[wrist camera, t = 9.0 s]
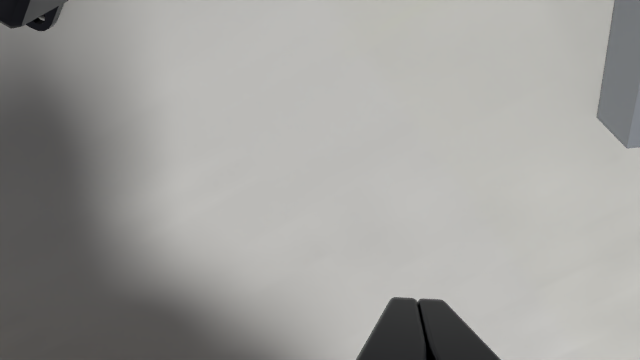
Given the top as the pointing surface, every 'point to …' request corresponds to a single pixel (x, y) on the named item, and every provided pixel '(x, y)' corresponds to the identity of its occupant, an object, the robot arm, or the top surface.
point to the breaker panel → (622, 75)
